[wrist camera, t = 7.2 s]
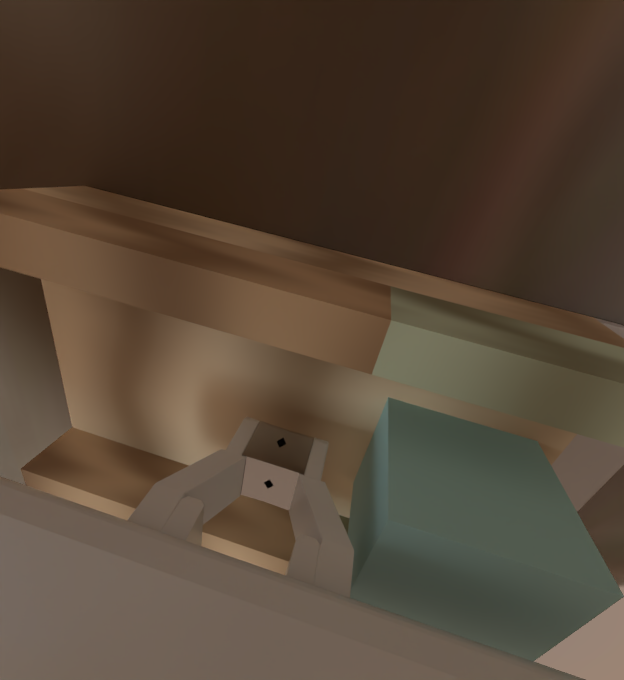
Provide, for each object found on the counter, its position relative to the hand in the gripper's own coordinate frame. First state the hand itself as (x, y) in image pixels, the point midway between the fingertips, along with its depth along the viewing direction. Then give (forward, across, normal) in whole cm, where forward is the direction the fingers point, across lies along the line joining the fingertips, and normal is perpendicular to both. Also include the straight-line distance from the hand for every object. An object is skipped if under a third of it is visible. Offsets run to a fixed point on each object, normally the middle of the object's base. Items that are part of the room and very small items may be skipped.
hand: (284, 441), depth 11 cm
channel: (+4, +1, 0) cm, 4 cm away
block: (+1, -6, 0) cm, 6 cm away
